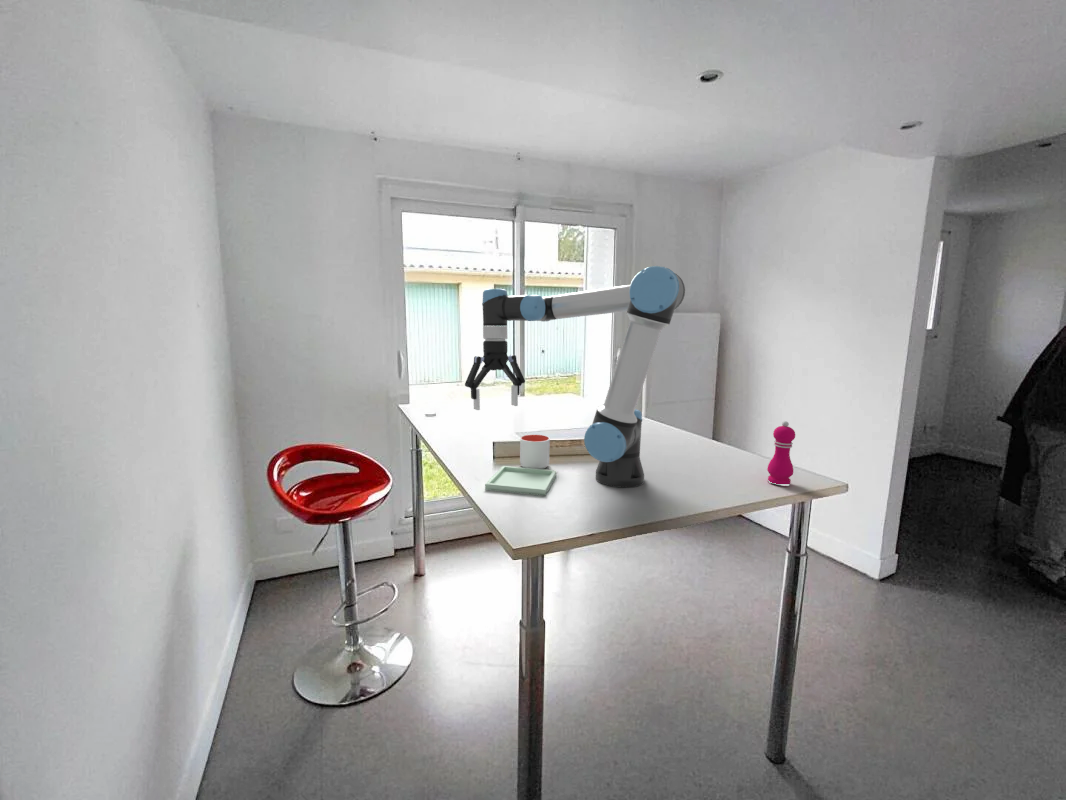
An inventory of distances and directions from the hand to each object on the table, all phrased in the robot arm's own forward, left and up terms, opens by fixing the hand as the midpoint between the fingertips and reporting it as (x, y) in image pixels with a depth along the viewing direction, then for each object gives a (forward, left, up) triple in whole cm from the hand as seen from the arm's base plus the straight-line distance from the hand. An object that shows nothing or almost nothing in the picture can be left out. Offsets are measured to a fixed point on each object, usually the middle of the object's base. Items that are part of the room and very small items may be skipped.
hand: (496, 407), depth 148 cm
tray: (-11, +6, -22) cm, 25 cm away
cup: (-11, -11, -22) cm, 27 cm away
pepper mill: (-89, -15, -22) cm, 92 cm away
